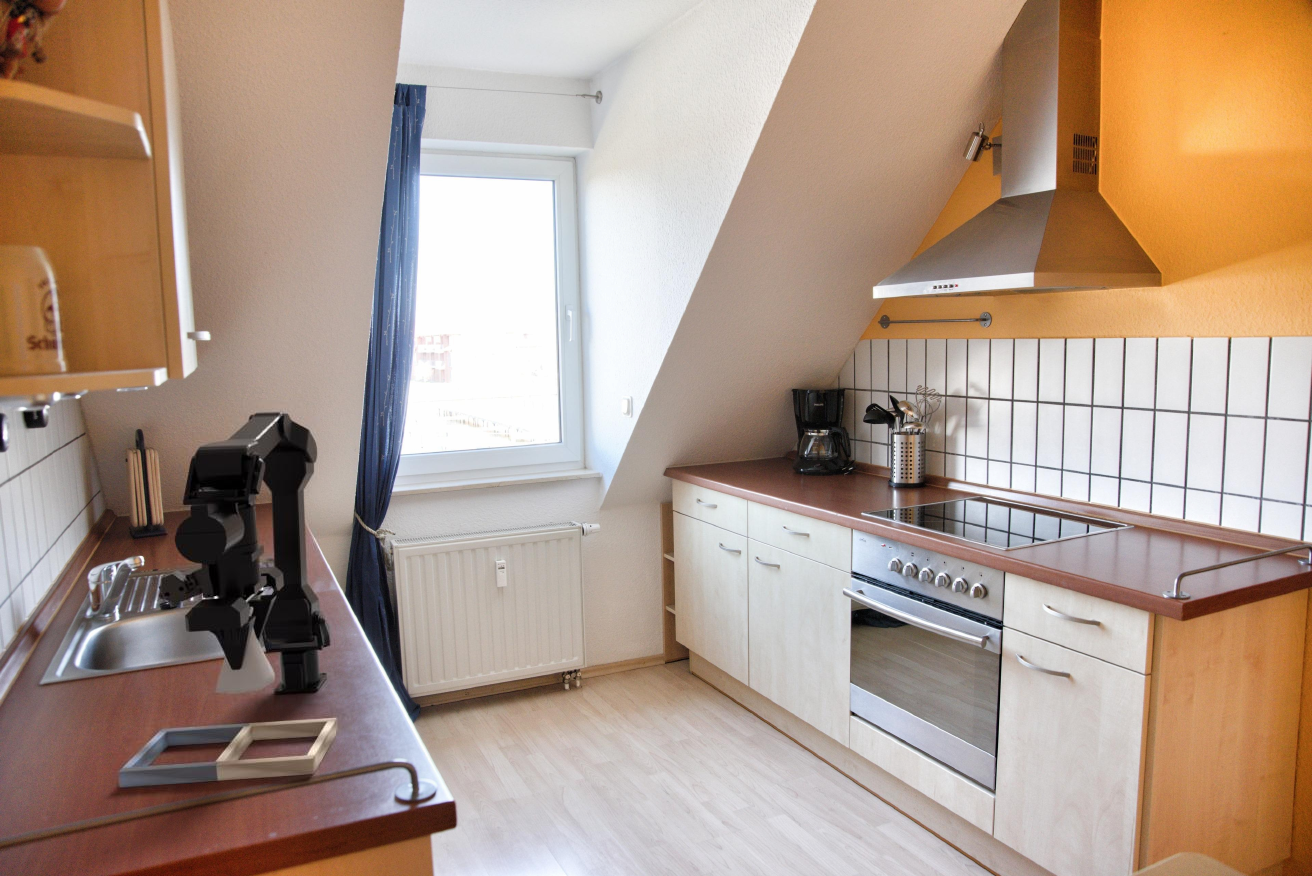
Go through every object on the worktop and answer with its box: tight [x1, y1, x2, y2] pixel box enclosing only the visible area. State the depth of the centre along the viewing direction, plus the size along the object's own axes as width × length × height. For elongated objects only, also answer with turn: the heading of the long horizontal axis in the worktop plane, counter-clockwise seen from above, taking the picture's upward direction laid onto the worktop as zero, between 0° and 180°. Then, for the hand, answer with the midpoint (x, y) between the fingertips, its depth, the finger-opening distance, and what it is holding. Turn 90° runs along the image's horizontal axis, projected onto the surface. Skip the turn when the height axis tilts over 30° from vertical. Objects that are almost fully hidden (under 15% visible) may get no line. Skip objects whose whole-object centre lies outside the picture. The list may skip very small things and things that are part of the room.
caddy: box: [117, 717, 339, 788], centre depth 116 cm, size 12×23×2 cm, turn 96°
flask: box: [214, 607, 276, 695], centre depth 115 cm, size 7×7×10 cm
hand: (243, 661), depth 115 cm, fingers closed on flask, 5 cm apart
